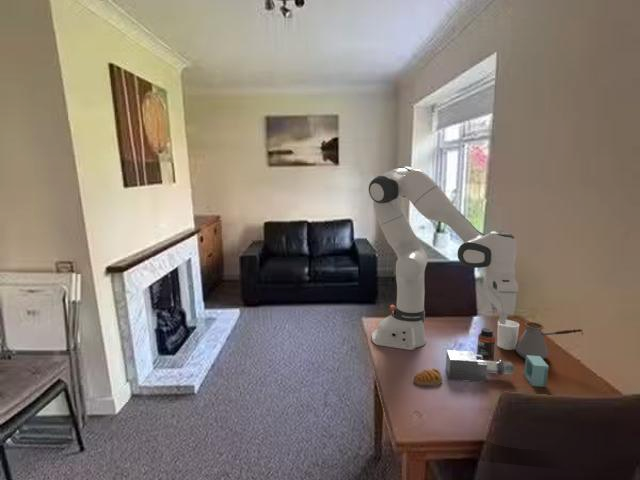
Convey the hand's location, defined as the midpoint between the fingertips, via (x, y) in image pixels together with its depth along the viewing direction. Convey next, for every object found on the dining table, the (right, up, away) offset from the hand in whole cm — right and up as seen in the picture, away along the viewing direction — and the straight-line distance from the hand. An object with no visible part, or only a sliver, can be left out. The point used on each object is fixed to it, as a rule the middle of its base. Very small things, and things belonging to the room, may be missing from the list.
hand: (497, 318), depth 136 cm
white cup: (+15, -17, +25) cm, 34 cm away
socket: (+13, -21, 0) cm, 25 cm away
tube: (-5, -19, +2) cm, 20 cm away
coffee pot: (+24, -19, +14) cm, 34 cm away
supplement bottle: (+2, -18, +16) cm, 25 cm away
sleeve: (-10, -21, +3) cm, 23 cm away
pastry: (-24, -22, 0) cm, 32 cm away
